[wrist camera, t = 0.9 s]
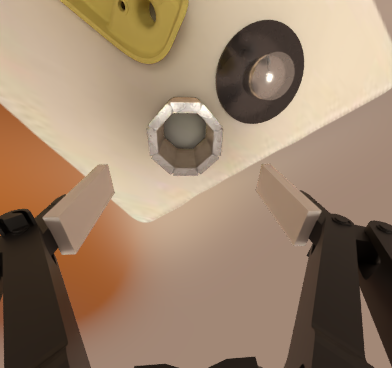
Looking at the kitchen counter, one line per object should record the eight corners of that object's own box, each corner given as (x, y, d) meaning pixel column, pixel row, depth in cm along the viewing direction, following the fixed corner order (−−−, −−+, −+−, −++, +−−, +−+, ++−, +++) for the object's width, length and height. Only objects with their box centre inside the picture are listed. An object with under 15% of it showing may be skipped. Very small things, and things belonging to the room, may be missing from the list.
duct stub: (219, 18, 25) (228, 3, 20) (315, 23, 25) (345, 9, 21) (212, 122, 32) (218, 129, 27) (287, 123, 32) (305, 130, 28)
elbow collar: (154, 96, 29) (143, 101, 21) (214, 98, 30) (225, 103, 22) (159, 154, 34) (152, 175, 26) (210, 154, 34) (218, 175, 27)
